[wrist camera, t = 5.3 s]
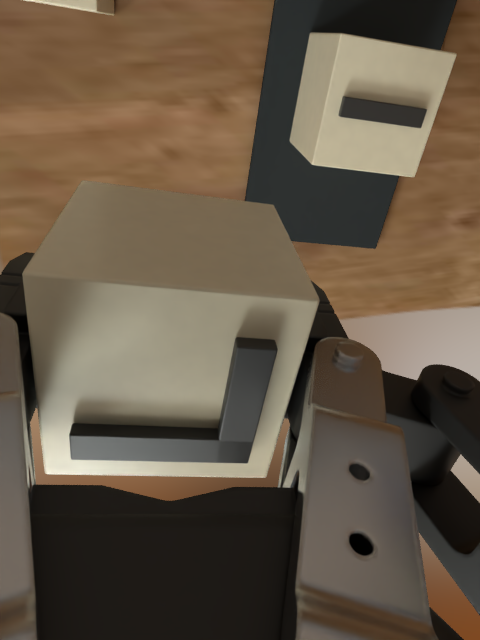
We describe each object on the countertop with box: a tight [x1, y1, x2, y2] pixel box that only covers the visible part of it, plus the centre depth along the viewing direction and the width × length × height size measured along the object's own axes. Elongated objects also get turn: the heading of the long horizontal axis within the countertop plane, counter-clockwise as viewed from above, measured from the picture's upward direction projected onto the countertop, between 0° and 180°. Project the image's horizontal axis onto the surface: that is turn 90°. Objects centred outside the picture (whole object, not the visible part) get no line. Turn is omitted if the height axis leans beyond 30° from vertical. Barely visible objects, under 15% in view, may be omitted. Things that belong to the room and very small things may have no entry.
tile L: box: [22, 181, 320, 478], centre depth 10 cm, size 5×5×5 cm
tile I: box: [290, 32, 457, 177], centre depth 19 cm, size 5×5×5 cm
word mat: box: [245, 0, 457, 249], centre depth 21 cm, size 15×8×1 cm, turn 172°
